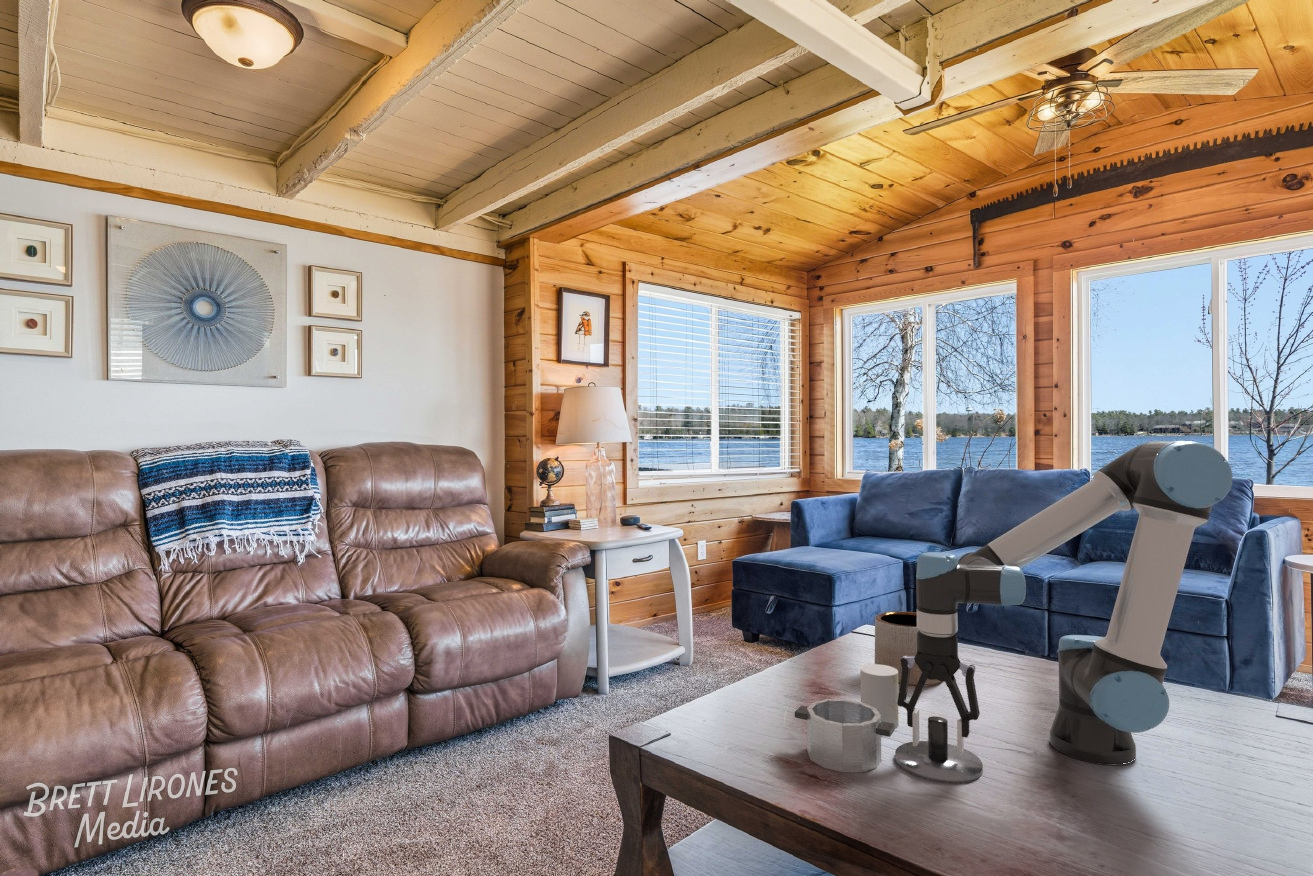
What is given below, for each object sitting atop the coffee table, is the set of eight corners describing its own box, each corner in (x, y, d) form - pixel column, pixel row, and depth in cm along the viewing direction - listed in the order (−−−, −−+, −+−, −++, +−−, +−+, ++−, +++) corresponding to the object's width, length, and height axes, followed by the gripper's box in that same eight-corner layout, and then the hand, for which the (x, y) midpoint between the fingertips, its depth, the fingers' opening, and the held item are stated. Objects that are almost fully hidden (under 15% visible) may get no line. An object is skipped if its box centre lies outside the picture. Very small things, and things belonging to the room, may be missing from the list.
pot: (900, 753, 145) (900, 709, 145) (883, 782, 133) (883, 733, 133) (809, 734, 155) (809, 692, 155) (786, 758, 143) (785, 714, 143)
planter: (861, 670, 198) (861, 613, 198) (915, 664, 203) (915, 609, 203) (901, 691, 181) (901, 629, 181) (959, 684, 186) (958, 624, 186)
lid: (987, 759, 143) (987, 714, 143) (976, 793, 129) (976, 743, 129) (904, 742, 151) (904, 699, 151) (886, 772, 138) (886, 725, 138)
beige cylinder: (900, 731, 156) (900, 676, 156) (862, 728, 158) (862, 674, 158) (896, 717, 164) (895, 665, 164) (859, 714, 166) (859, 663, 166)
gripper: (996, 634, 138) (997, 752, 138) (888, 621, 149) (889, 730, 149) (991, 644, 132) (992, 767, 132) (879, 629, 142) (880, 743, 142)
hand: (937, 747), depth 140 cm, fingers open, 8 cm apart
